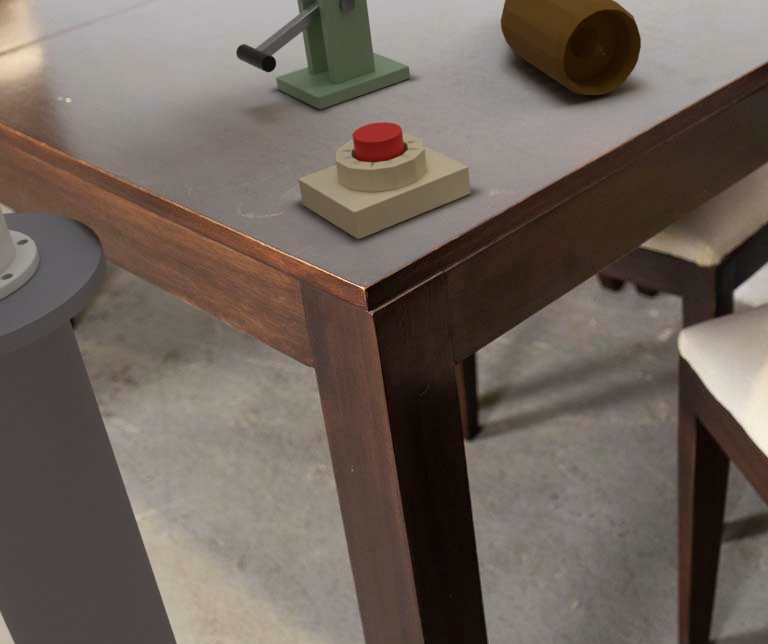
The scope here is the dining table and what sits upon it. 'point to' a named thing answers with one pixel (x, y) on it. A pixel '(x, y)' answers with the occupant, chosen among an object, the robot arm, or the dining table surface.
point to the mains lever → (278, 40)
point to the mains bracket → (340, 57)
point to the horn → (574, 41)
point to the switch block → (383, 187)
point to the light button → (378, 142)
